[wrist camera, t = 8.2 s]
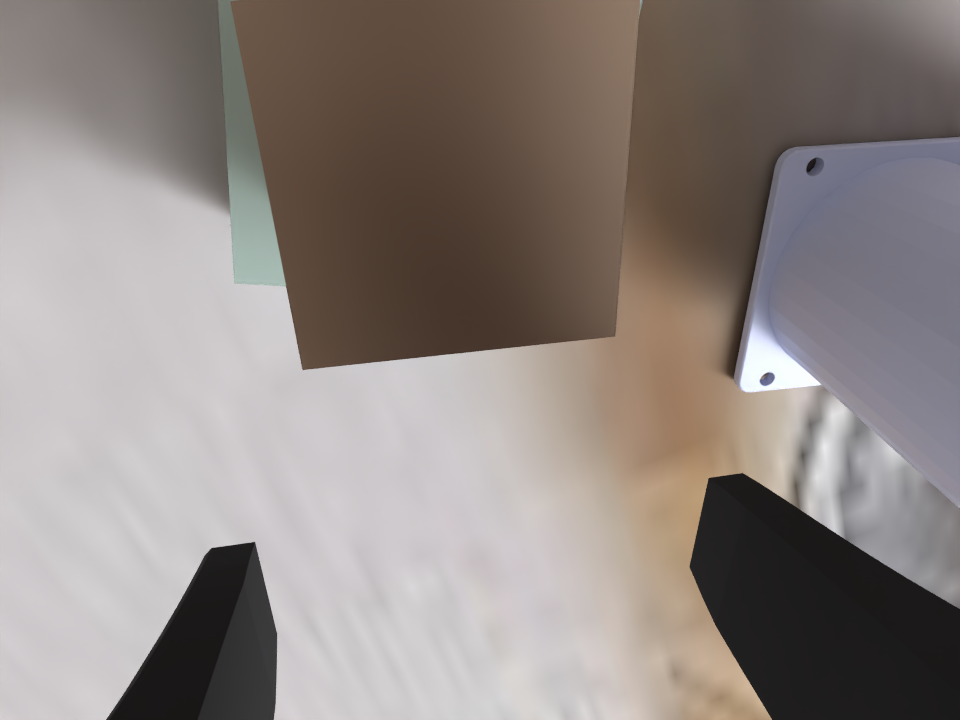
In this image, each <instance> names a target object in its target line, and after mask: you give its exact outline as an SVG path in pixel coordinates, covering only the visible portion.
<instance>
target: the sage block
mask: <svg viewBox="0 0 960 720" xmlns="http://www.w3.org/2000/svg"><path fill="white" fill-rule="evenodd" d="M230 1H237V0H218V15H219V32H220V49H221V65H222V82H223V99H224V116H225V133H226V150H227V167H228V184H229V200H230V217H231V234H232V251H233V268H234V283H237V284H255V285H273V286H286V283H285V278H284V273H283V267H282V262H281V257H280V252H279V247H278V242H277V237H276V232H275V227H274V222H273V217H272V212H271V206H270V201H269V196H268V191H267V186H266V181H265V176H264V171H263V166H262V161H261V156H260V151H259V145H258V140H257V135H256V130H255V125H254V120H253V115H252V110H251V105H250V100H249V95H248V90H247V84H246V79H245V74H244V69H243V64H242V59H241V54H240V49H239V44H238V39H237V34H236V29H235V23H234V18H233V13H232V8H231V3H230ZM642 1H643V0H640V10H641V6H642ZM640 10H639V15H640Z"/></svg>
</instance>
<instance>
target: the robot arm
mask: <svg viewBox="0 0 960 720" xmlns="http://www.w3.org/2000/svg"><path fill="white" fill-rule="evenodd" d="M813 158H816V164H815V166H814V168H813V169H812V170H811V171H810V172H806V167H807V165H808V163H809V162H810V161H811V160H812V159H813ZM768 372H769V373H768ZM765 373H768V375H767V376H766V377H765V378H764V379H761V380H760V378H761V376H763V375H764V374H765ZM734 382H735V384H736V385H737V386H738V387H739V389H740V390H742V391H744V392H758V391H768V390H777V389H787V388H796V387H806V386H815V385H823V386H824V387H825V388H826V389H827V390H828V391H829V392H830V393H831V394H833V395H834V396H835V397H836V398H837V399H838V400H839V401H840V402H841V403H843V404H844V405H845V406H846V407H847V408H848V409H849V410H850V411H852V412H853V413H854V414H855V415H856V416H857V417H858V418H859V419H860V420H862V421H863V422H864V423H865V424H866V425H867V426H868V427H869V428H870V429H872V430H873V431H874V432H875V433H876V434H877V435H878V436H879V437H881V438H882V439H883V440H884V441H885V442H886V443H887V444H888V445H889V446H891V447H892V448H893V449H894V450H895V451H896V452H897V453H898V454H899V455H901V456H902V457H903V458H904V459H905V460H906V461H907V462H908V463H910V464H911V465H912V466H913V467H914V468H915V469H916V470H917V471H918V472H920V473H921V474H922V475H923V476H924V477H925V478H926V479H927V480H929V481H930V482H931V483H932V484H933V485H934V486H935V487H936V488H937V489H939V490H940V491H941V492H942V493H943V494H944V495H945V496H946V497H947V498H949V499H950V500H951V501H952V502H953V503H954V504H955V505H956V506H958V507H959V508H960V137H949V138H933V139H917V140H900V141H884V142H868V143H852V144H836V145H820V146H803V147H794V148H790V149H788V150H786V151H785V152H783V153H782V154H781V156H780V157H779V158H778V160H777V163H776V165H775V169H774V175H773V180H772V185H771V190H770V195H769V200H768V205H767V210H766V216H765V221H764V226H763V231H762V236H761V241H760V246H759V251H758V256H757V262H756V267H755V272H754V277H753V282H752V287H751V292H750V297H749V303H748V308H747V313H746V318H745V323H744V328H743V333H742V338H741V343H740V349H739V354H738V359H737V364H736V369H735V374H734ZM690 569H691V571H692V574H693V576H694V578H695V581H696V583H697V585H698V588H699V590H700V592H701V595H702V597H703V599H704V601H705V604H706V606H707V608H708V610H709V612H710V614H711V616H712V619H713V621H714V623H715V625H716V627H717V628H718V630H719V632H720V634H721V635H722V637H723V639H724V640H725V642H726V644H727V645H728V647H729V649H730V650H731V652H732V654H733V656H734V657H735V659H736V661H737V662H738V664H739V666H740V667H741V669H742V671H743V672H744V674H745V676H746V677H747V679H748V680H749V682H750V684H751V685H752V687H753V689H754V690H755V692H756V694H757V695H758V697H759V699H760V700H761V702H762V703H763V705H764V707H765V708H766V710H767V712H768V713H769V715H770V717H771V718H772V720H960V609H959V608H957V607H955V606H953V605H952V604H950V603H948V602H947V601H945V600H943V599H941V598H940V597H938V596H936V595H935V594H933V593H931V592H929V591H928V590H926V589H924V588H923V587H921V586H919V585H917V584H916V583H914V582H912V581H911V580H909V579H907V578H906V577H904V576H902V575H901V574H899V573H897V572H896V571H894V570H893V569H891V568H889V567H888V566H886V565H884V564H883V563H881V562H880V561H878V560H876V559H875V558H873V557H872V556H870V555H868V554H867V553H865V552H864V551H862V550H861V549H859V548H858V547H856V546H854V545H853V544H851V543H850V542H848V541H847V540H845V539H844V538H842V537H840V536H839V535H837V534H836V533H834V532H833V531H831V530H830V529H828V528H827V527H825V526H824V525H822V524H821V523H819V522H818V521H816V520H815V519H813V518H812V517H810V516H809V515H807V514H806V513H804V512H802V511H801V510H799V509H798V508H796V507H795V506H793V505H792V504H790V503H789V502H787V501H786V500H784V499H783V498H781V497H780V496H778V495H777V494H775V493H774V492H772V491H771V490H769V489H767V488H766V487H764V486H763V485H761V484H760V483H758V482H756V481H755V480H753V479H751V478H750V477H748V476H747V475H745V474H743V473H741V474H734V475H727V476H720V477H713V478H709V479H708V484H707V488H706V493H705V498H704V502H703V507H702V512H701V516H700V521H699V526H698V530H697V535H696V540H695V544H694V549H693V553H692V558H691V563H690ZM276 669H277V632H276V628H275V624H274V620H273V615H272V611H271V607H270V603H269V599H268V595H267V590H266V586H265V582H264V578H263V574H262V569H261V565H260V561H259V557H258V553H257V549H256V544H255V542H252V543H245V544H238V545H231V546H224V547H217V548H211V549H210V550H209V552H208V553H207V554H206V555H205V556H204V558H203V560H202V562H201V564H200V566H199V568H198V570H197V571H196V573H195V575H194V577H193V579H192V581H191V583H190V584H189V586H188V588H187V590H186V592H185V594H184V595H183V597H182V599H181V601H180V602H179V604H178V606H177V608H176V609H175V611H174V613H173V615H172V616H171V618H170V620H169V621H168V623H167V625H166V627H165V628H164V630H163V632H162V633H161V635H160V637H159V638H158V640H157V642H156V643H155V645H154V646H153V648H152V650H151V651H150V653H149V654H148V656H147V658H146V659H145V661H144V663H143V664H142V666H141V667H140V669H139V671H138V672H137V674H136V675H135V677H134V679H133V680H132V682H131V683H130V685H129V687H128V688H127V690H126V691H125V693H124V694H123V696H122V697H121V699H120V700H119V702H118V703H117V705H116V706H115V708H114V709H113V711H112V712H111V713H110V715H109V716H108V718H107V719H106V720H274V712H275V703H276Z"/></svg>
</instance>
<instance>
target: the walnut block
mask: <svg viewBox="0 0 960 720" xmlns="http://www.w3.org/2000/svg"><path fill="white" fill-rule="evenodd" d="M230 3H231V8H232V13H233V18H234V23H235V29H236V34H237V39H238V44H239V49H240V54H241V59H242V64H243V69H244V74H245V79H246V84H247V90H248V95H249V100H250V105H251V110H252V115H253V120H254V125H255V130H256V135H257V140H258V145H259V151H260V156H261V161H262V166H263V171H264V176H265V181H266V186H267V191H268V196H269V201H270V206H271V212H272V217H273V222H274V227H275V232H276V237H277V242H278V247H279V252H280V257H281V262H282V267H283V273H284V278H285V283H286V288H287V293H288V298H289V303H290V308H291V313H292V318H293V323H294V328H295V334H296V339H297V344H298V349H299V354H300V359H301V364H302V369H303V370H306V369H315V368H325V367H334V366H343V365H353V364H362V363H371V362H381V361H390V360H399V359H409V358H418V357H427V356H437V355H446V354H455V353H465V352H474V351H483V350H493V349H502V348H511V347H521V346H530V345H539V344H549V343H558V342H567V341H577V340H586V339H595V338H605V337H614V336H615V332H616V319H617V305H618V292H619V279H620V265H621V252H622V238H623V225H624V211H625V198H626V184H627V171H628V158H629V144H630V131H631V117H632V104H633V90H634V77H635V63H636V50H637V37H638V23H639V10H640V0H237V1H230Z"/></svg>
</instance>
